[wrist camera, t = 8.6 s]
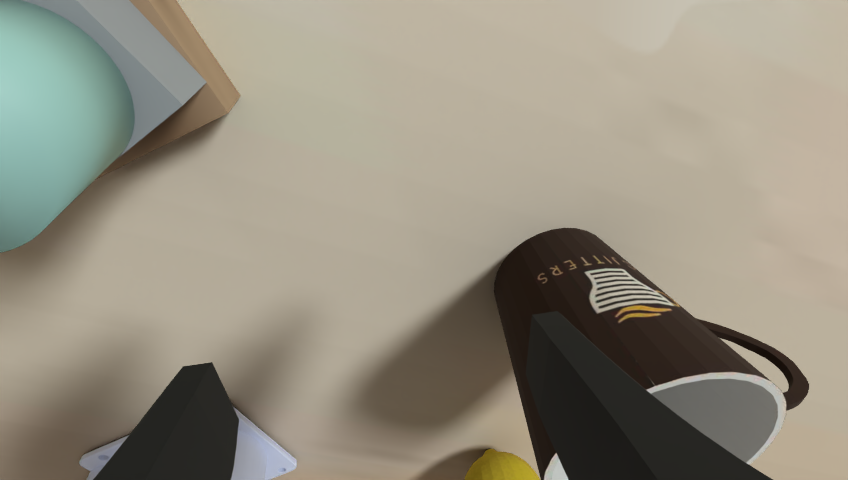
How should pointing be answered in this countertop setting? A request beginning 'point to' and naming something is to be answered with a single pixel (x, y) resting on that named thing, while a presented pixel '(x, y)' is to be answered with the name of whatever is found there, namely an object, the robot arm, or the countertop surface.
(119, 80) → the teal cylinder
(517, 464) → the lemon
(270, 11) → the countertop surface
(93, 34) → the grey square slab
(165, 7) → the walnut block
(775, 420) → the coffee mug
